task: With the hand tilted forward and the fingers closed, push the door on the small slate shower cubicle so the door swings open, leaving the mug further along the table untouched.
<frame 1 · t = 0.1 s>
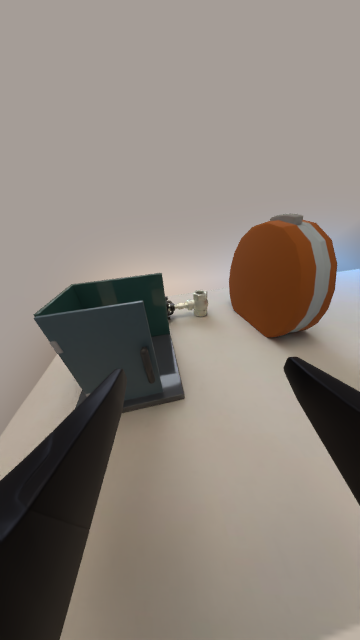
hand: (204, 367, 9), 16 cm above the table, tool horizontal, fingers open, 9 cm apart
alarm clock: (263, 318, 41), on the table
shower door: (113, 367, 18), point 9 cm above the table, hinge at 0.0°
valve: (187, 316, 45), on the table
shower stall: (134, 368, 30), on the table
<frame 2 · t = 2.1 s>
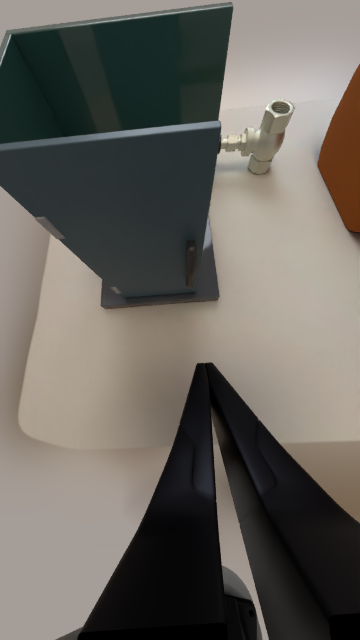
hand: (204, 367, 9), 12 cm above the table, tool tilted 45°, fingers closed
shower door: (143, 265, 13), point 9 cm above the table, hinge at 0.0°
valve: (235, 169, 27), on the table
shower stall: (158, 255, 24), on the table
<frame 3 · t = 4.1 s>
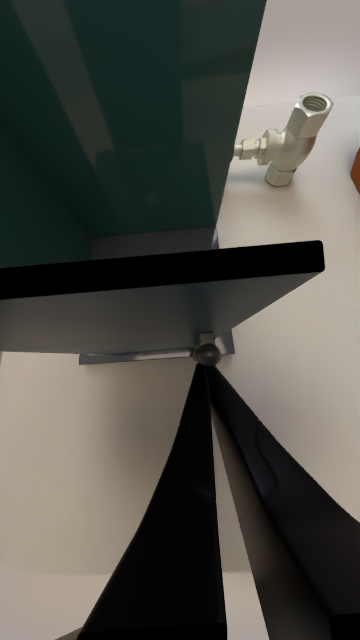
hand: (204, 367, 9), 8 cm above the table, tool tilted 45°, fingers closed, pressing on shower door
shower door: (127, 352, 8), point 9 cm above the table, hinge at 0.9°, touching gripper
valve: (249, 180, 22), on the table
shower stall: (155, 291, 19), on the table
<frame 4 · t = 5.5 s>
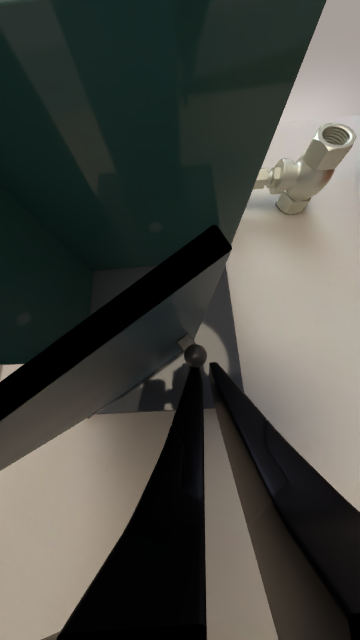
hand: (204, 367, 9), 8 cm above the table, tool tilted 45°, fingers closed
shower door: (123, 395, 8), point 9 cm above the table, hinge at 32.2°, touching gripper
valve: (259, 206, 21), on the table
shower stall: (160, 329, 18), on the table
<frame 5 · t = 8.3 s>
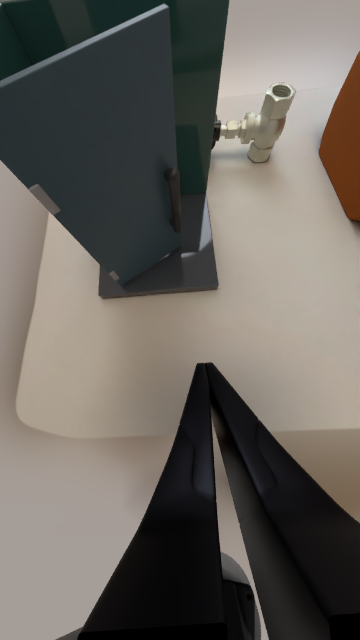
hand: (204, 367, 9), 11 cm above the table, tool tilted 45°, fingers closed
shower door: (135, 220, 13), point 9 cm above the table, hinge at 32.6°
valve: (235, 158, 27), on the table
shower stall: (157, 244, 23), on the table
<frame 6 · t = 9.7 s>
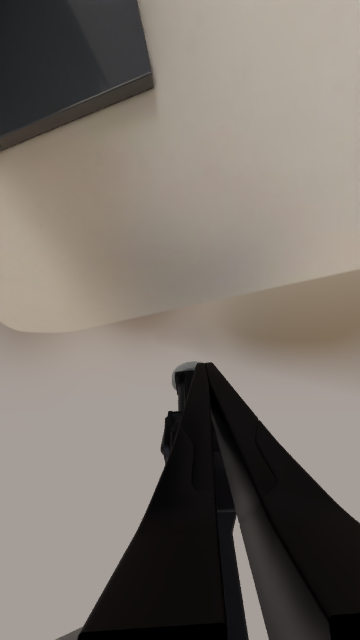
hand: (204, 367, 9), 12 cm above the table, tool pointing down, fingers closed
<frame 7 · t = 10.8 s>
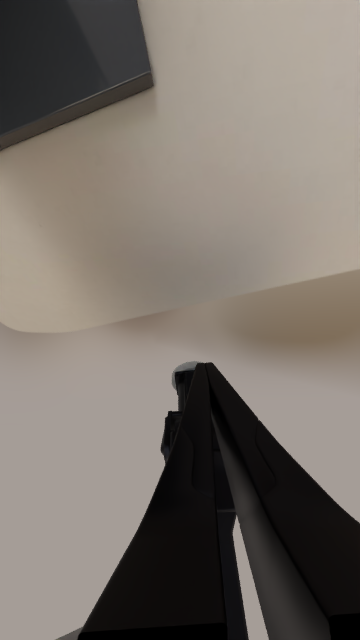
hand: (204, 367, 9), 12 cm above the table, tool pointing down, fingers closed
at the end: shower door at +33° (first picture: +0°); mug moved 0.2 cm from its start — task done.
